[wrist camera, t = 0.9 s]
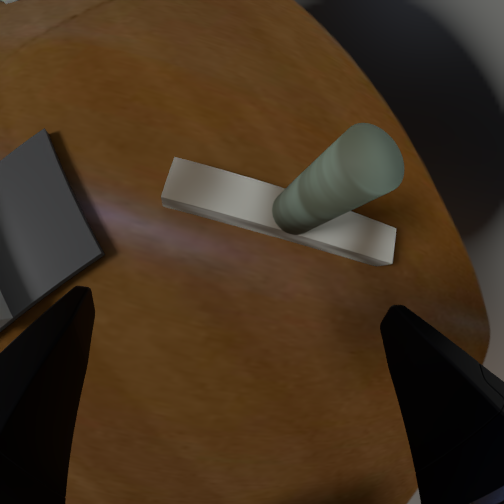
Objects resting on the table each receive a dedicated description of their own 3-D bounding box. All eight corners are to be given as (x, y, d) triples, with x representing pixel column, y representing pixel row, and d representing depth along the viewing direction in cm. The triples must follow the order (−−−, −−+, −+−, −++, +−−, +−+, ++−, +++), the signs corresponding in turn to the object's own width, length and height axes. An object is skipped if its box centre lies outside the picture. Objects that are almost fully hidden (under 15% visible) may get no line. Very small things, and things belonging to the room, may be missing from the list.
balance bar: (379, 232, 26) (491, 196, 14) (374, 267, 25) (492, 248, 13) (175, 169, 22) (176, 58, 10) (162, 208, 22) (146, 118, 10)
